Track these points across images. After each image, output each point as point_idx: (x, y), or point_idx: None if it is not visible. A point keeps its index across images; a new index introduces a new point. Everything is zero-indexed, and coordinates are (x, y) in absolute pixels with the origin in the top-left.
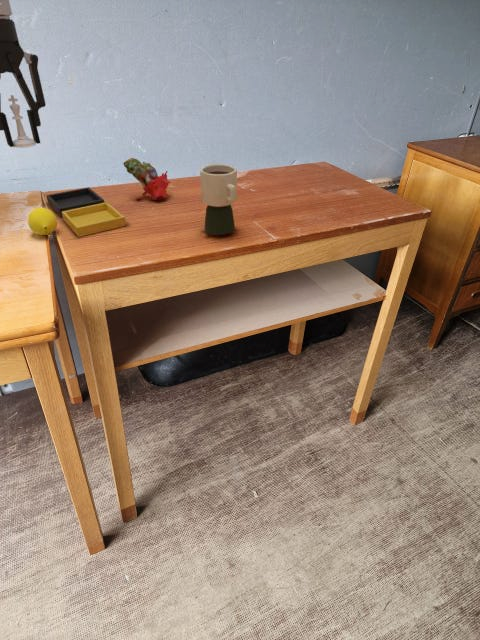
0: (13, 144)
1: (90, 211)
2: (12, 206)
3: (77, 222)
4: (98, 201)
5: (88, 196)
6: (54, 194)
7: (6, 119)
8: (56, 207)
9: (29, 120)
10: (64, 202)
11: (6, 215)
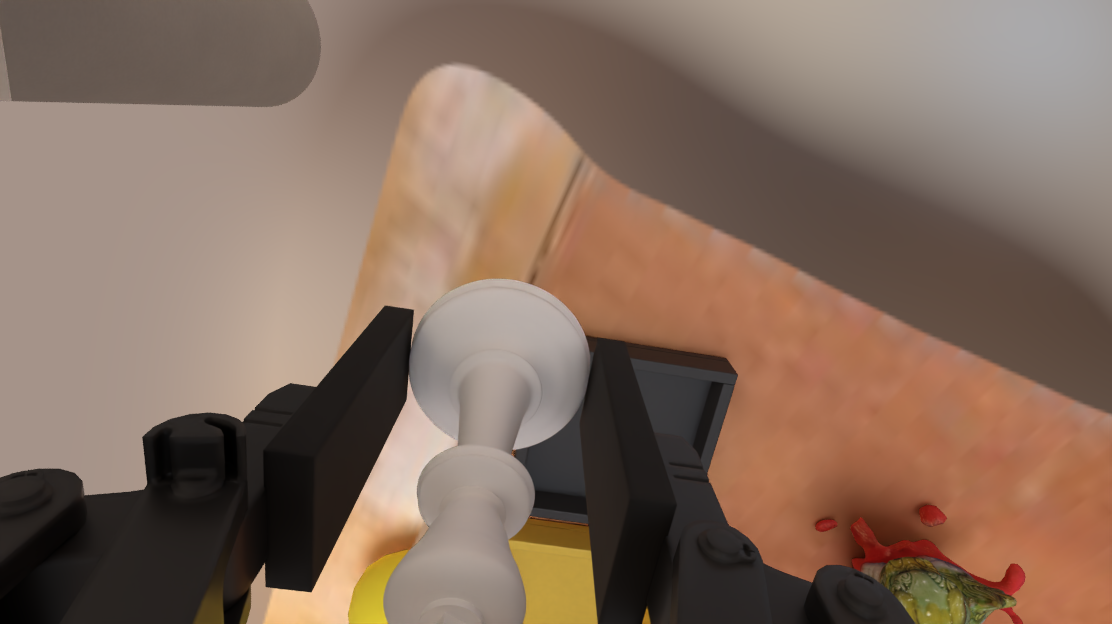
0: (411, 378)
1: None
2: (396, 253)
3: (524, 578)
4: None
5: (699, 391)
6: None
7: (330, 547)
8: None
9: (610, 450)
10: None
11: (345, 338)
